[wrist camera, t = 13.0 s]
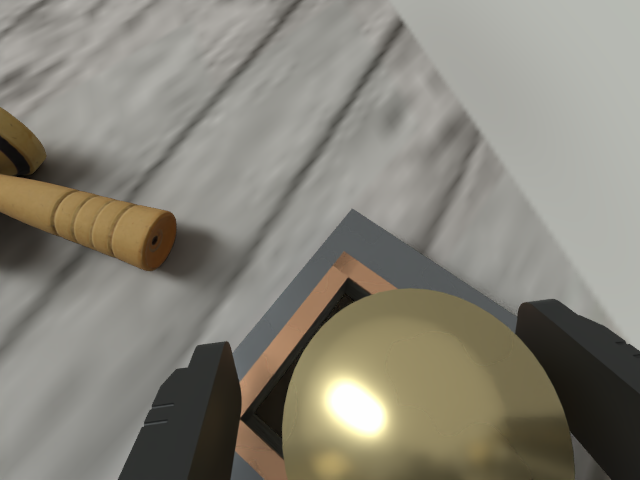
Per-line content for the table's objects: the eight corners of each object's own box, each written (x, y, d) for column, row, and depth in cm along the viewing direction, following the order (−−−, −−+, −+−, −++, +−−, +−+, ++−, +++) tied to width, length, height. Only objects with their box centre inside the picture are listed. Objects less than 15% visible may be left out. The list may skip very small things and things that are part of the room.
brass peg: (287, 411, 14) (222, 456, 5) (350, 325, 16) (383, 242, 7) (376, 489, 13) (489, 723, 4) (435, 390, 15) (618, 399, 6)
